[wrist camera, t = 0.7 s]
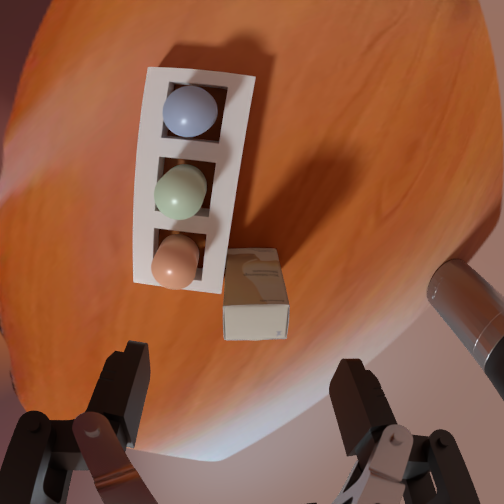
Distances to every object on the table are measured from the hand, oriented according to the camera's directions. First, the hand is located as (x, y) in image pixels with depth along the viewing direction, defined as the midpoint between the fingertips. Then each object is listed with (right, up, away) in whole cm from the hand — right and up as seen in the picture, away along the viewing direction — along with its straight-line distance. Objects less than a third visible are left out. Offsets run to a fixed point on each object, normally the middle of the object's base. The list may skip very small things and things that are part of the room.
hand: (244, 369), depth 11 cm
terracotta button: (-8, +4, +23) cm, 25 cm away
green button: (-7, +12, +20) cm, 24 cm away
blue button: (-6, +19, +17) cm, 26 cm away
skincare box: (0, +3, +27) cm, 27 cm away
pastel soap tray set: (-7, +13, +22) cm, 26 cm away
